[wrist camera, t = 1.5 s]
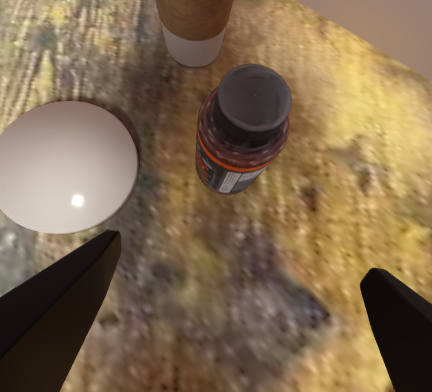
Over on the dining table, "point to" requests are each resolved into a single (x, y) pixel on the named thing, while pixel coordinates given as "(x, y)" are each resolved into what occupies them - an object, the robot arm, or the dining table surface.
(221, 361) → the dining table surface
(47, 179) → the beige flattened disc
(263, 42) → the dining table surface
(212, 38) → the coffee cup
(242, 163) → the supplement bottle
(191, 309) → the dining table surface
